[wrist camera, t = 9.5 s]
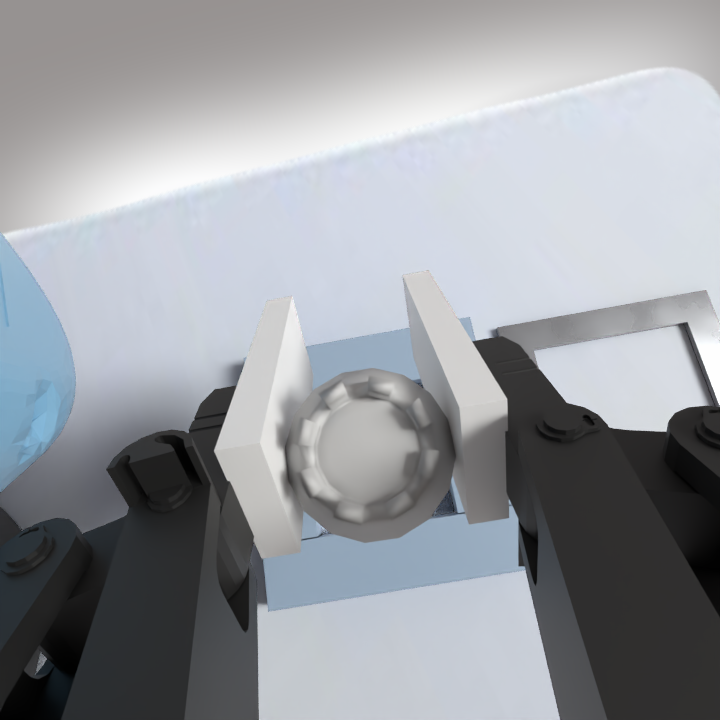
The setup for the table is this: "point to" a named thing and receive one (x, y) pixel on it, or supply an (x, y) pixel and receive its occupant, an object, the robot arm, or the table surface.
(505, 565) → the socket
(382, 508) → the rook chess piece
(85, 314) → the table surface
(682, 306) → the bezel
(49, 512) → the table surface
